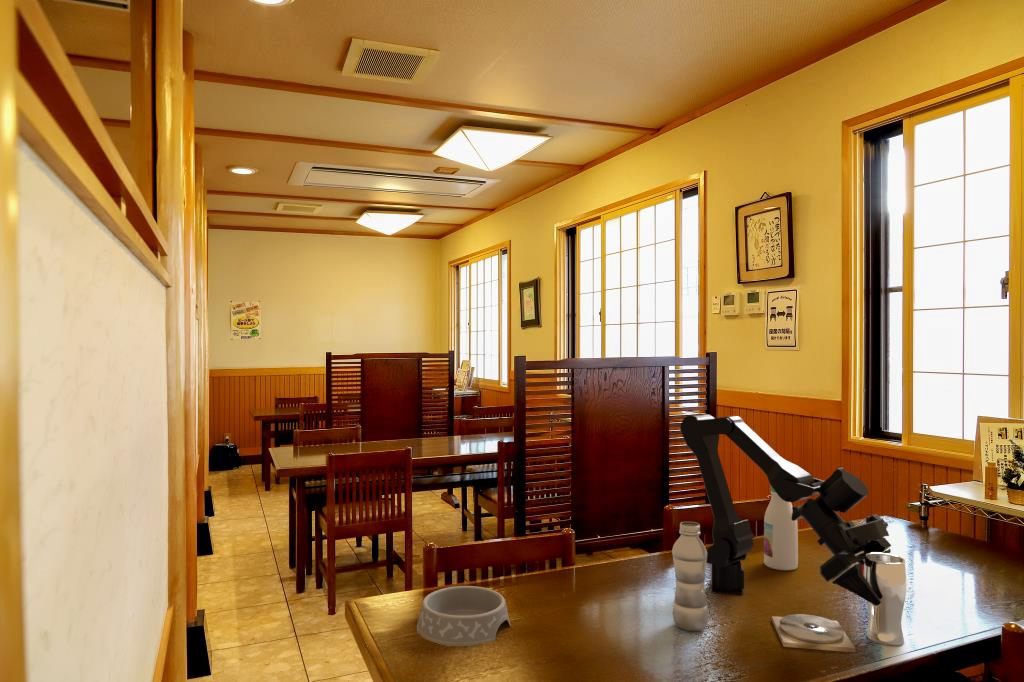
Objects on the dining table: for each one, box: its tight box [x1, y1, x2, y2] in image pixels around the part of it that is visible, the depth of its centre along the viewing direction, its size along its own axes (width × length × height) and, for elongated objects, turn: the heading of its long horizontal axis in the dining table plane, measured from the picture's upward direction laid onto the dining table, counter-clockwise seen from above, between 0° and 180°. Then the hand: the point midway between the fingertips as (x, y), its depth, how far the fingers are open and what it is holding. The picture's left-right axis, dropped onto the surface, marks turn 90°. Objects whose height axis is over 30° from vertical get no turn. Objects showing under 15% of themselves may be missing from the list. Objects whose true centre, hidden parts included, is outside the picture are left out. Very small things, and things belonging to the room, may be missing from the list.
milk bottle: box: [763, 485, 799, 571], centre depth 168 cm, size 8×8×20 cm
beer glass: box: [864, 553, 907, 647], centre depth 126 cm, size 7×7×15 cm
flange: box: [780, 613, 845, 644], centre depth 128 cm, size 11×11×1 cm
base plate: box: [771, 615, 856, 653], centre depth 128 cm, size 12×12×1 cm
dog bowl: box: [416, 585, 511, 647], centre depth 133 cm, size 17×18×5 cm
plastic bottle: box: [671, 521, 710, 632], centre depth 131 cm, size 6×7×20 cm
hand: (889, 598), depth 126 cm, fingers open, 9 cm apart
